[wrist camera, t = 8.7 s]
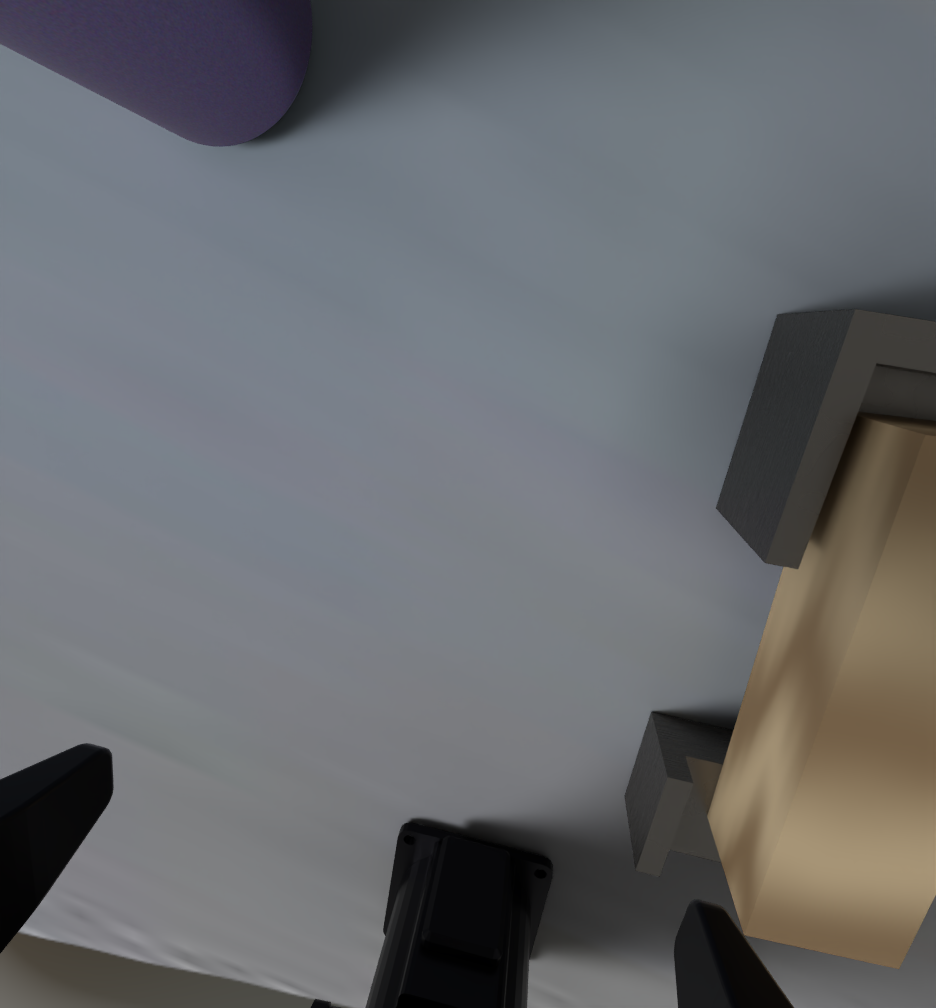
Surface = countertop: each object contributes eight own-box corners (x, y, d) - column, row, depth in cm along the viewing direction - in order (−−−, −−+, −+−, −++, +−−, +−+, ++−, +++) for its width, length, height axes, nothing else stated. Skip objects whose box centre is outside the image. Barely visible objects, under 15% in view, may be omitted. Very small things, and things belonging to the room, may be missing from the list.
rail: (830, 841, 19) (899, 969, 15) (707, 816, 19) (743, 934, 16) (995, 428, 15) (1149, 462, 11) (831, 408, 15) (925, 435, 11)
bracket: (965, 556, 18) (1096, 629, 13) (716, 508, 18) (764, 562, 14) (1058, 359, 16) (1248, 371, 11) (777, 314, 16) (855, 309, 12)
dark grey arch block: (826, 845, 21) (871, 930, 18) (624, 796, 22) (635, 870, 19) (866, 761, 20) (922, 837, 17) (651, 711, 21) (667, 777, 18)
